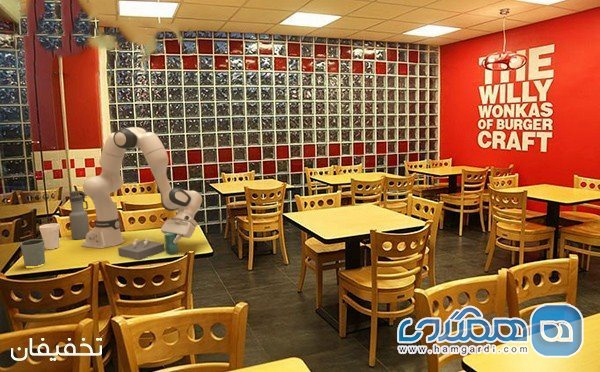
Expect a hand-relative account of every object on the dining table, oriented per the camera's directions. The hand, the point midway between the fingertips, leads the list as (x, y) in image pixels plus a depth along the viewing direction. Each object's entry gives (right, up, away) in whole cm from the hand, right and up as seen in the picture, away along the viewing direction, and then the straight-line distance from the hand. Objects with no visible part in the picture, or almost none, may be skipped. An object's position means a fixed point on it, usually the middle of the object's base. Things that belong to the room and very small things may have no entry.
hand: (170, 242), depth 230 cm
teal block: (+1, -6, +2) cm, 6 cm away
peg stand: (-15, -6, +3) cm, 17 cm away
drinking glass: (-63, -10, -9) cm, 64 cm away
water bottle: (-64, -2, +39) cm, 75 cm away
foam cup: (-70, -6, +19) cm, 73 cm away
